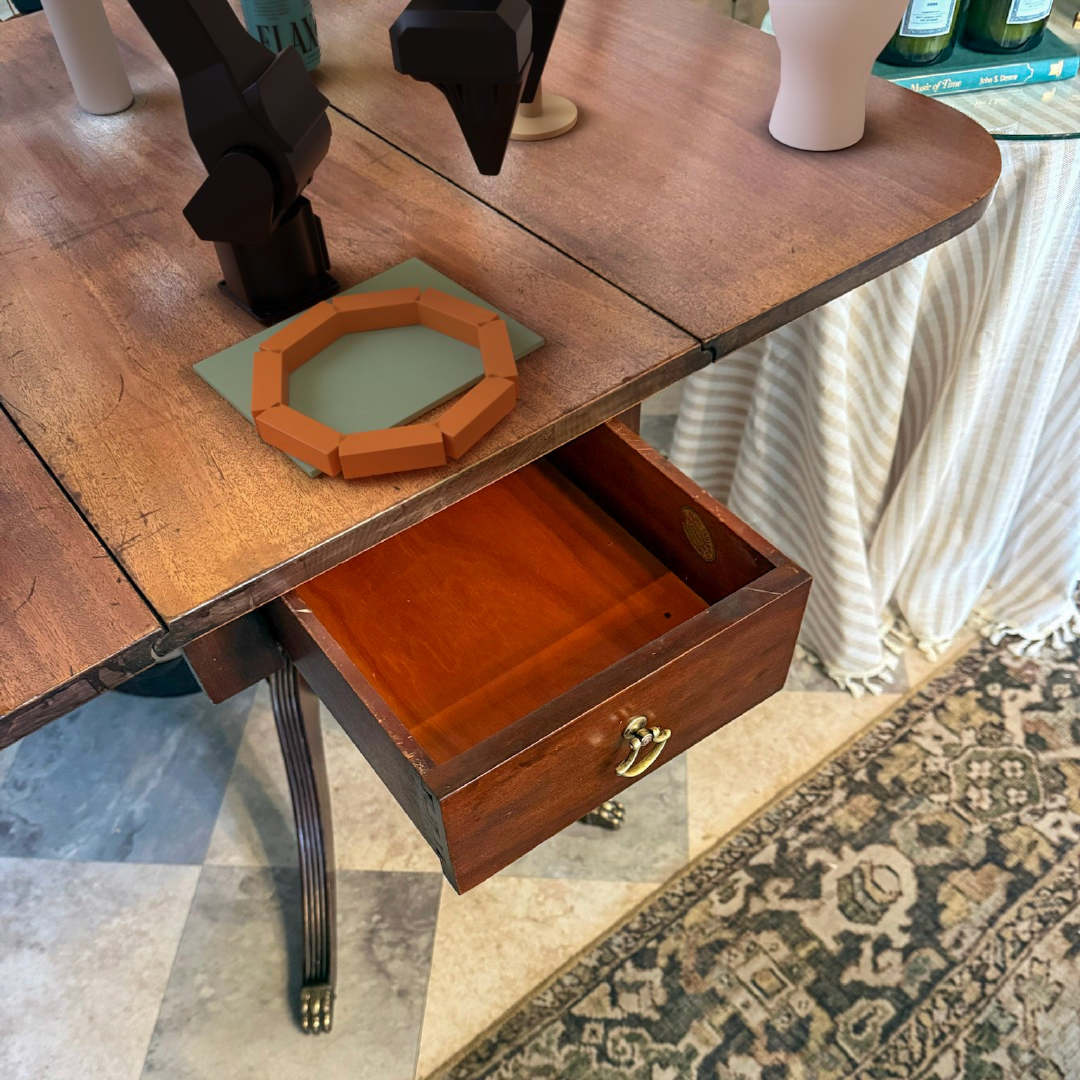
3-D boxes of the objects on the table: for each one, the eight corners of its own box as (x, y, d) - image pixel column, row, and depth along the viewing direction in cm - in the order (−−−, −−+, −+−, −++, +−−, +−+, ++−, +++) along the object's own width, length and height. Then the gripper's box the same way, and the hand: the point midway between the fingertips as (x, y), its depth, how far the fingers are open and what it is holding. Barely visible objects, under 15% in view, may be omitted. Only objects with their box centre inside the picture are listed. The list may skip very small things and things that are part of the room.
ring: (255, 492, 56) (247, 469, 55) (262, 329, 67) (255, 306, 66) (532, 452, 58) (531, 429, 56) (496, 299, 68) (494, 276, 67)
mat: (312, 478, 58) (310, 472, 57) (194, 371, 65) (191, 365, 65) (544, 344, 65) (544, 338, 65) (415, 262, 73) (414, 256, 72)
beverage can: (141, 107, 92) (93, -36, 83) (89, 121, 91) (34, -23, 82) (127, 89, 95) (79, -51, 86) (76, 102, 94) (22, -39, 85)
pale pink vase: (839, 93, 88) (874, -102, 77) (906, 146, 81) (955, -61, 70) (729, 115, 86) (749, -82, 75) (788, 170, 79) (820, -38, 68)
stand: (527, 150, 84) (524, 98, 80) (467, 120, 88) (462, 70, 85) (596, 118, 87) (596, 67, 84) (535, 91, 91) (533, 42, 88)
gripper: (382, -224, 55) (421, 66, 67) (249, -126, 43) (325, 209, 54) (582, -228, 53) (587, 72, 65) (502, -127, 41) (525, 221, 52)
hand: (508, 136), depth 59 cm, fingers open, 9 cm apart
